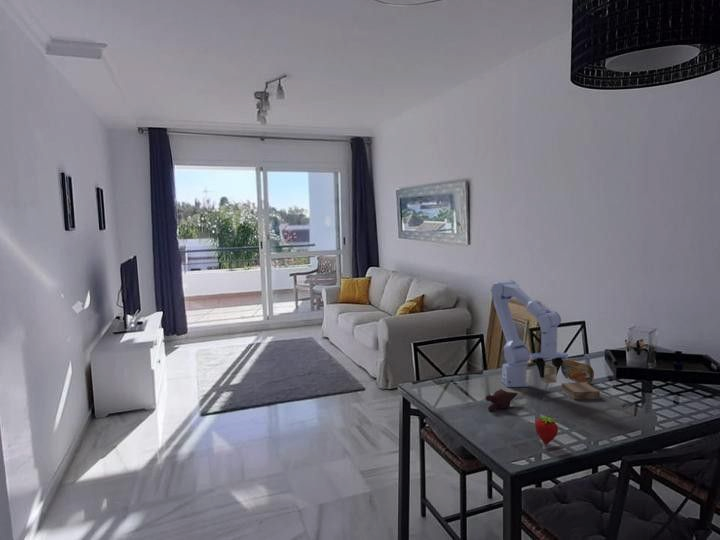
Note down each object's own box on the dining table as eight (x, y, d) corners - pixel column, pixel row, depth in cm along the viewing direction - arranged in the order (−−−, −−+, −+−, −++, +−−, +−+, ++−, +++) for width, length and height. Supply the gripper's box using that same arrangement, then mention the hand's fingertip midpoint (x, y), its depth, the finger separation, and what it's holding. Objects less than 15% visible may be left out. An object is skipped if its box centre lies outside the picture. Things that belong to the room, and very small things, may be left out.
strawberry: (544, 437, 149) (545, 406, 148) (562, 447, 142) (563, 415, 141) (529, 440, 147) (530, 409, 146) (547, 451, 140) (547, 419, 139)
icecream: (508, 383, 180) (478, 393, 173) (522, 384, 173) (491, 395, 166) (512, 401, 179) (482, 412, 172) (526, 403, 173) (496, 414, 166)
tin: (560, 376, 206) (560, 357, 205) (565, 375, 208) (565, 356, 207) (589, 386, 193) (590, 366, 192) (595, 385, 194) (595, 365, 193)
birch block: (544, 382, 181) (545, 367, 180) (540, 378, 185) (540, 364, 184) (556, 382, 181) (556, 367, 180) (551, 378, 185) (551, 363, 185)
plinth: (573, 399, 179) (574, 392, 179) (561, 390, 189) (561, 383, 188) (599, 398, 179) (599, 391, 179) (585, 389, 189) (586, 382, 189)
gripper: (534, 346, 177) (534, 380, 179) (572, 345, 178) (571, 379, 179) (527, 341, 184) (526, 374, 186) (563, 340, 185) (562, 373, 186)
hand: (548, 376), depth 183 cm, fingers closed on birch block, 4 cm apart
